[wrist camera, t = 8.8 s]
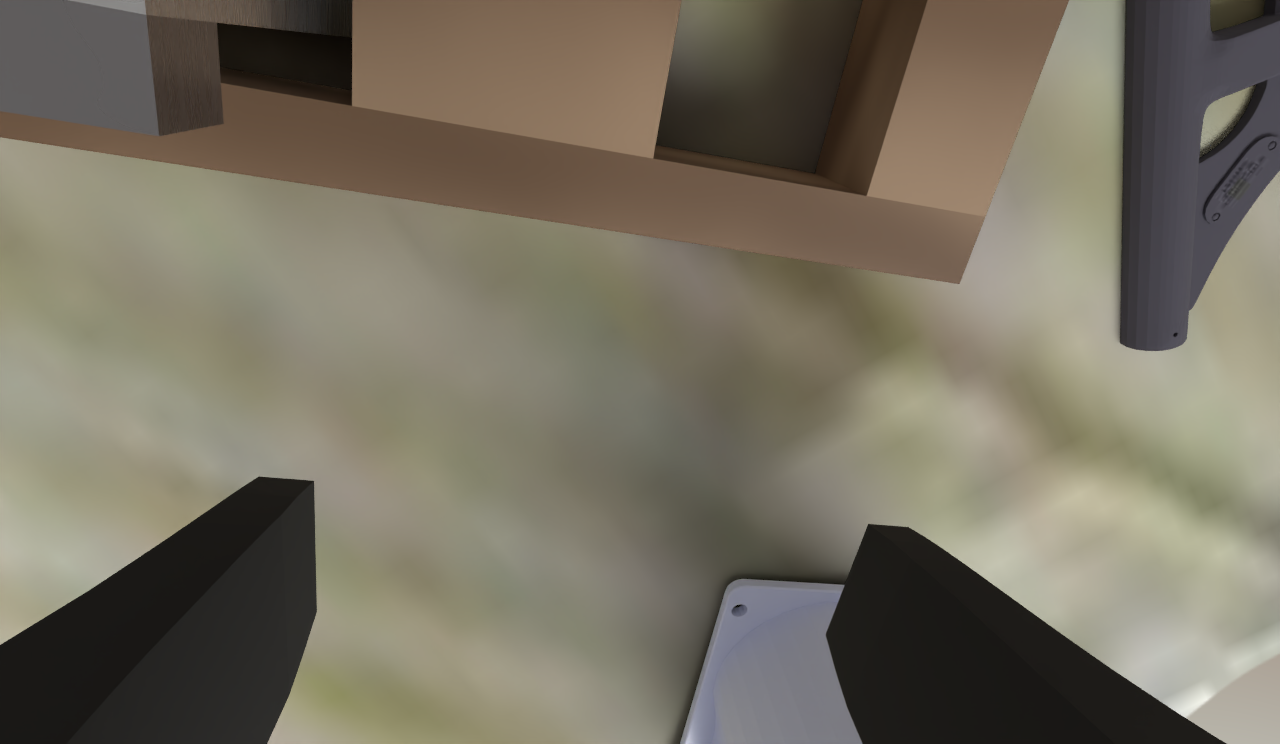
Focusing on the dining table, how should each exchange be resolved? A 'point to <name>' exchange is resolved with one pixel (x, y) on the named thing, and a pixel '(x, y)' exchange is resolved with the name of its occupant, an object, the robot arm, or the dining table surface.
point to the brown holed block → (636, 126)
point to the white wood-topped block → (135, 57)
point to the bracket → (1188, 155)
